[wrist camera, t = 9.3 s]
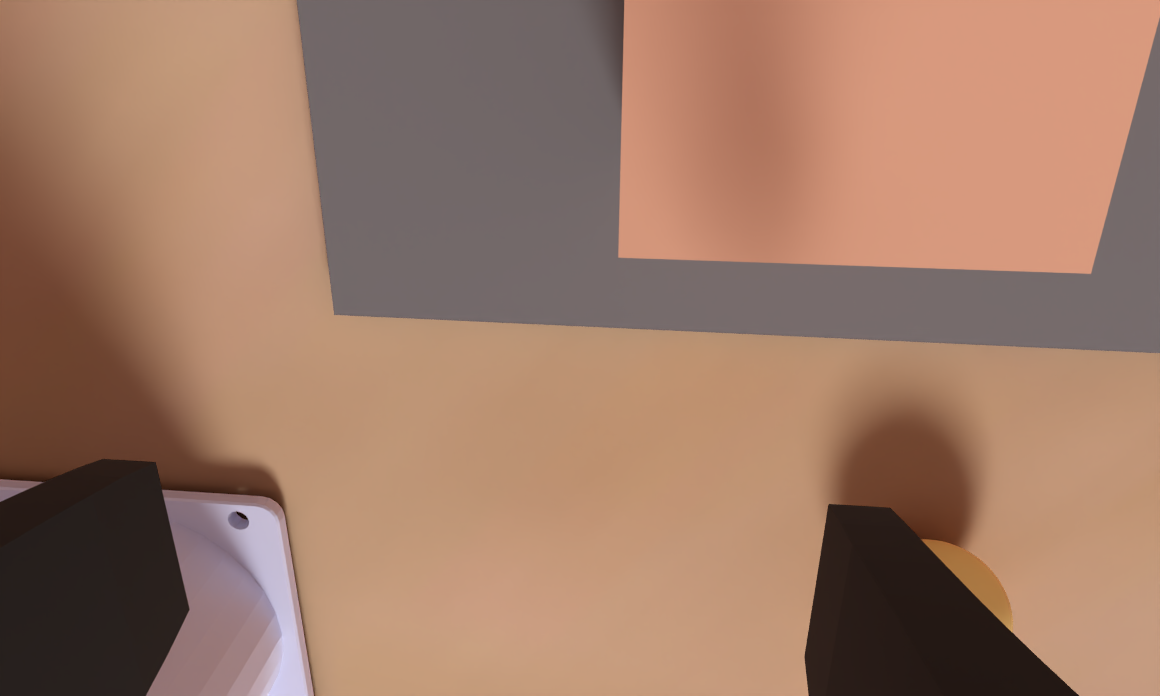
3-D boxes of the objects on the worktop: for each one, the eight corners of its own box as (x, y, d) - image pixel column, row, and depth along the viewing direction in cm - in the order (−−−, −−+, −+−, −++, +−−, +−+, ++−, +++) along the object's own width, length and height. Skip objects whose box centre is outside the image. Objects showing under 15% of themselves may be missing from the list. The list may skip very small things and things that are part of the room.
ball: (832, 615, 21) (859, 721, 18) (851, 505, 19) (883, 601, 17) (968, 624, 21) (1017, 734, 18) (996, 514, 19) (1055, 614, 16)
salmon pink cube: (635, 155, 16) (618, 257, 11) (646, -196, 14) (631, -295, 8) (943, 163, 16) (1091, 273, 10) (1009, -199, 13) (1246, -307, 8)
